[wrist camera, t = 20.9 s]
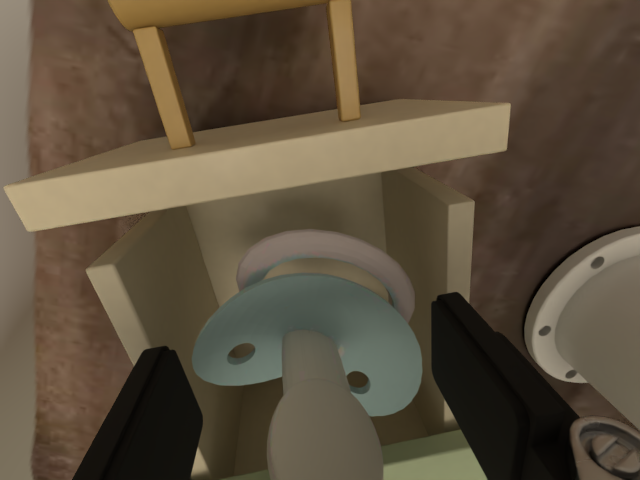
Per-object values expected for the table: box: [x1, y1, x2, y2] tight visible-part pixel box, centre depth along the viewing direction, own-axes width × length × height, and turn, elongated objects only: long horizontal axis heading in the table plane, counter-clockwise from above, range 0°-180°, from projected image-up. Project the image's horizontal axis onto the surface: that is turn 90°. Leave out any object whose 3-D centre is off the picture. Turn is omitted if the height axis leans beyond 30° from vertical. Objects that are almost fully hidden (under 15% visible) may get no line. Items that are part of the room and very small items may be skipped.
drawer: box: [4, 0, 511, 480], centre depth 14 cm, size 20×12×8 cm, turn 8°
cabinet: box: [190, 430, 487, 480], centre depth 20 cm, size 17×14×10 cm
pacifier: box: [192, 229, 422, 480], centre depth 9 cm, size 7×6×6 cm
